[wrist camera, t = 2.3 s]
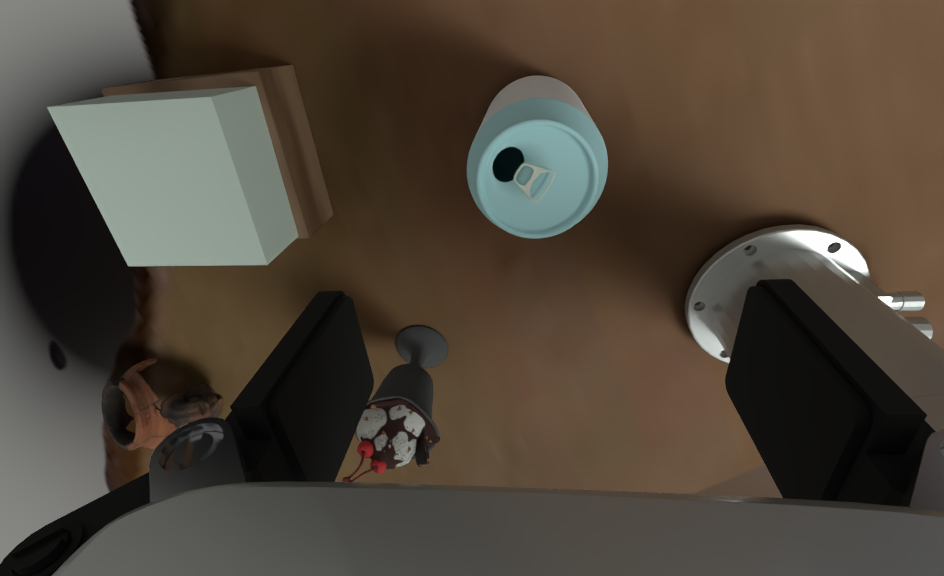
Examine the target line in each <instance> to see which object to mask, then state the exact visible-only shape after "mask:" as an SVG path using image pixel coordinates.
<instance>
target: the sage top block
mask: <svg viewBox="0 0 944 576" xmlns="http://www.w3.org/2000/svg"><path fill="white" fill-rule="evenodd" d="M47 108H48V110H49V112H50V114H51V116H52V118H53V120H54V122H55V124H56V126H57V128H58V130H59V132H60V134H61V135H62V138H63V140H64V142H65V143H66V146H67V147H68V149H69V151H70V153H71V155H72V157H73V159H74V161H75V163H76V165H77V167H78V169H79V171H80V173H81V175H82V177H83V178H84V181H85V183H86V185H87V186H88V188H89V190H90V192H91V194H92V196H93V198H94V200H95V202H96V204H97V206H98V208H99V210H100V212H101V214H102V216H103V218H104V220H105V221H106V224H107V226H108V228H109V229H110V231H111V233H112V235H113V237H114V239H115V241H116V243H117V245H118V247H119V249H120V251H121V253H122V255H123V257H124V259H125V261H126V263H127V264H128V266H211V265H268V264H269V263H270V262H271V261H272V260H273V259H275V258H276V257H277V256H278V255H279V254H280V253H281V252H282V251H283V250H284V249H285V248H286V247H287V246H289V245H290V244H291V243H292V242H293V241H294V240H295V239H296V238H297V237H298V232H297V229H296V225H295V222H294V218H293V215H292V211H291V208H290V204H289V201H288V197H287V194H286V190H285V187H284V183H283V180H282V176H281V173H280V169H279V166H278V162H277V159H276V155H275V152H274V148H273V145H272V141H271V138H270V134H269V131H268V127H267V124H266V120H265V117H264V113H263V110H262V106H261V103H260V99H259V96H258V92H257V89H256V86H249V87H234V88H219V89H204V90H189V91H173V92H158V93H143V94H128V95H112V96H106V97H101V98H95V99H89V100H84V101H78V102H73V103H68V104H62V105H57V106H51V107H47Z"/></svg>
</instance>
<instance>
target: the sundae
mask: <svg viewBox="0 0 944 576" xmlns="http://www.w3.org/2000/svg"><path fill="white" fill-rule="evenodd" d="M396 347H397V350H398V353H399V354H400V356H401V357H402V358H403V359H404V360H405V361H406V362H408V363H409V364H404V365H399V366H397V367H395V368H393V369H392V370H391V371H390V372H389V374H388V375H387V376H386V378H385V379H384V380H383V382H382V384H381V385H380V387H379V388H378V390H377V392H376V393H375V395H374V396H373V398H372V399H371V400H370V401H368V402H367V405H366V407H365V410H364V412H363V414H362V417H361V419H360V421H359V424H358V426H357V429H356V431H355V436H356V437H357V439H358V440H359V441H360V444H359V446H358V449H357V451H358V453H359V455H360V456H362V459H361V462H360V465H359V467H358V468H357V469H356V471H355V472H354V473H353V474H352V475H350V476H349V477H344V478H343V482H353V481H355V480H356V479H357V478H359V477H360V476H361V475H363V474H366V473H368V472H371V471H373V472H375V473H382V472H384V471H385V470H386V469H398V468H399V467H401V466H403V465H405V464H407V463H408V462H409V461H410V460H411V459H416V462H417V465H418V467H420V466H423V465H426V464H428V463H429V461H430V459H429V451H430V450H431V449H432V448H433V447H434V446H435V444H436V443H438V442H439V441H440V437H439V432H438V429H437V427H436V425H435V423H434V422H433V420H432V403H433V381H432V379H431V377H430V375H429V374H428V373H427V372H426V371H425V370H424V369H423V368H428V367H433V366H436V365H438V364H440V363H441V362H442V361H443V360H444V359H445V358H446V356H447V352H448V348H447V343H446V341H445V340H444V338H443V337H442V336H441V335H440V334H439V333H438V332H436V331H435V330H433V329H431V328H428V327H424V326H412V327H409V328H407V329H405V330H403V331H402V332H401V333H400V334H399V335H398V337H397V341H396ZM364 458H371V460H372V462H371V464H370V467H371V469H370V470H368V471H365V472H363V473H362V474H360V475H359V476H357V477H356V478H355V479H353V480H350V478H351V477H352V476H353V475H354V474H355V473H356V472H357V471H358V470H359V469H360V467H361V465H362V464H363V461H364Z"/></svg>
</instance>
